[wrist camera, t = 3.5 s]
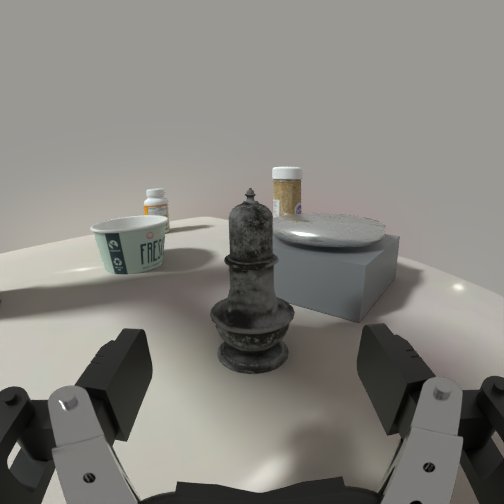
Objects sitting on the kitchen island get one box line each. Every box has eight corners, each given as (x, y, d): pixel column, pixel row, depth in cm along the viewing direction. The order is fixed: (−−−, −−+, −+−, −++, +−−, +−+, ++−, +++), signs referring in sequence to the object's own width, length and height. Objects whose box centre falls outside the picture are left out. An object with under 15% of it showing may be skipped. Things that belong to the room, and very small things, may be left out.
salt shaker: (281, 329, 25) (283, 184, 22) (302, 369, 20) (311, 190, 17) (211, 336, 24) (202, 187, 21) (216, 380, 19) (203, 193, 16)
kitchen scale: (240, 288, 34) (239, 242, 33) (305, 258, 45) (306, 222, 44) (359, 322, 26) (365, 265, 24) (396, 275, 37) (400, 235, 35)
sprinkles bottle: (298, 256, 46) (299, 166, 42) (269, 254, 48) (268, 166, 44) (303, 249, 50) (304, 167, 47) (276, 247, 52) (276, 166, 48)
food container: (120, 252, 50) (116, 216, 48) (182, 254, 49) (180, 214, 47) (81, 275, 39) (74, 231, 37) (152, 280, 37) (146, 229, 35)
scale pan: (246, 247, 33) (245, 223, 32) (305, 228, 43) (305, 210, 42) (361, 270, 25) (364, 241, 24) (394, 241, 35) (396, 221, 34)
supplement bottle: (150, 230, 68) (147, 189, 66) (172, 229, 69) (169, 187, 66) (143, 235, 63) (139, 190, 61) (166, 234, 63) (163, 189, 61)
